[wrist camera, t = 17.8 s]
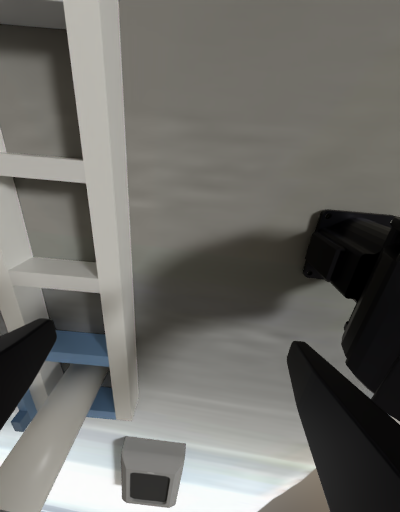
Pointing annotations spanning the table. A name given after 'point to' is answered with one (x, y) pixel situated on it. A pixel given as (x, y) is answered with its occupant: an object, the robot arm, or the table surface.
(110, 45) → the white and blue ladder
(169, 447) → the gray box with screen
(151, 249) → the table surface
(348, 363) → the robot arm
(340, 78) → the table surface
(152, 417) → the table surface
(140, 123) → the table surface
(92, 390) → the white capped cylinder
